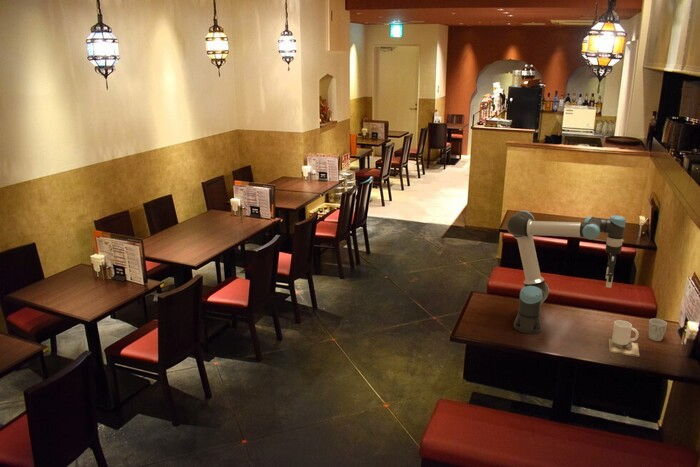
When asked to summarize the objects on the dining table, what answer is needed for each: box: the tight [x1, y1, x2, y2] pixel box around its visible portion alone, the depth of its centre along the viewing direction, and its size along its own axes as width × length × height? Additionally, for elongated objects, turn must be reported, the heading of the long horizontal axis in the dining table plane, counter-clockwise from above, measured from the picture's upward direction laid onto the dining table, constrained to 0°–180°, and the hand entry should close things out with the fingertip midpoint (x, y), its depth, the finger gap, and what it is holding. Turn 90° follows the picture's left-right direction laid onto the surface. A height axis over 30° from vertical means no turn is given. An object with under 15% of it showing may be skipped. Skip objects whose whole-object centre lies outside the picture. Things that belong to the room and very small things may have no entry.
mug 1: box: [611, 319, 640, 345], centre depth 291 cm, size 12×8×10 cm
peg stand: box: [608, 338, 640, 358], centre depth 293 cm, size 14×14×4 cm
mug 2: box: [648, 318, 668, 342], centre depth 304 cm, size 11×8×10 cm
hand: (608, 282), depth 299 cm, fingers open, 13 cm apart
